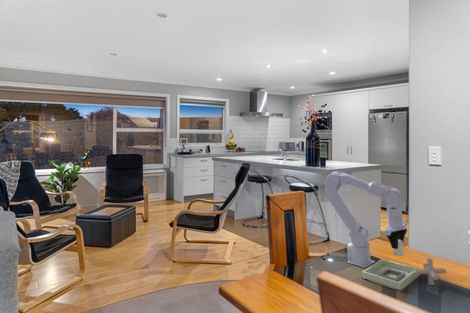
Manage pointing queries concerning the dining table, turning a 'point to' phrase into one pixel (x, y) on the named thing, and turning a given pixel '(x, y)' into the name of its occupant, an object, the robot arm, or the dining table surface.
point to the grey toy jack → (430, 271)
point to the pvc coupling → (399, 249)
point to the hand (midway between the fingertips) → (397, 246)
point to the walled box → (390, 274)
